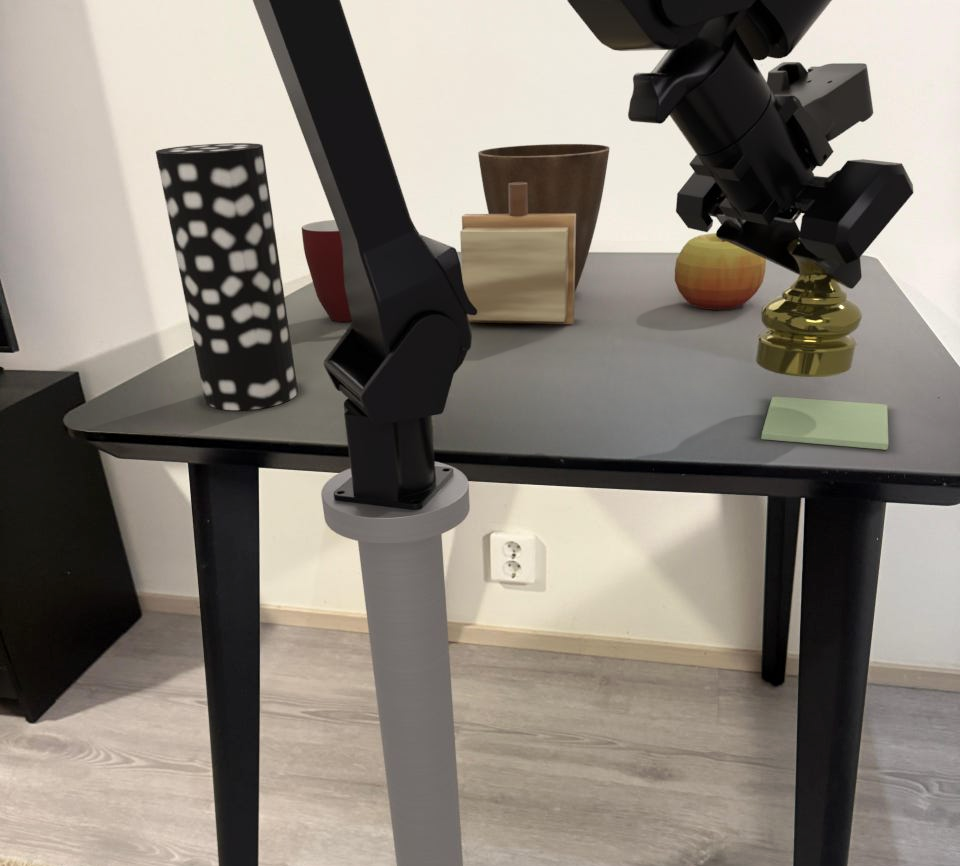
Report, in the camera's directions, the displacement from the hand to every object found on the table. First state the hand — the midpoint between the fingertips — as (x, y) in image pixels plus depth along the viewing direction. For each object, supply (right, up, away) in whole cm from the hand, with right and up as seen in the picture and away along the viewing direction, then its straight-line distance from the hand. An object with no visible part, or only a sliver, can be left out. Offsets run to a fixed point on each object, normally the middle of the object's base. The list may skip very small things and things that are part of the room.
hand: (832, 277), depth 70 cm
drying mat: (0, -11, +2) cm, 11 cm away
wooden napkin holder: (-23, +7, +31) cm, 39 cm away
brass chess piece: (-1, -6, +3) cm, 7 cm away
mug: (-41, +9, +37) cm, 56 cm away
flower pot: (-19, +14, +43) cm, 49 cm away
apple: (0, +11, +36) cm, 37 cm away
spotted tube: (-48, -6, +14) cm, 50 cm away
